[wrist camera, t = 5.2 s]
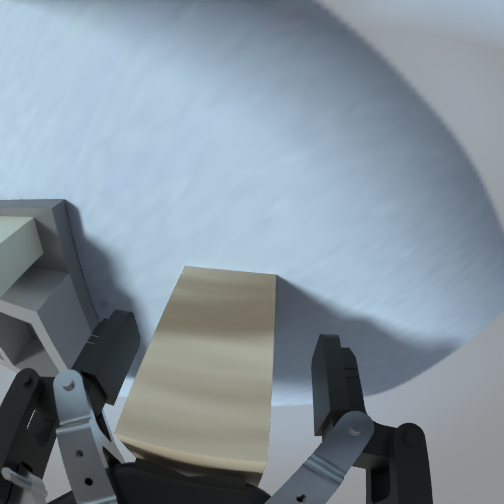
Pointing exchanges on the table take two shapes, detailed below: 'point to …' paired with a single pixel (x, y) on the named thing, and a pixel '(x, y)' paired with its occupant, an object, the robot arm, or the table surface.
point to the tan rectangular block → (207, 378)
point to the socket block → (41, 289)
